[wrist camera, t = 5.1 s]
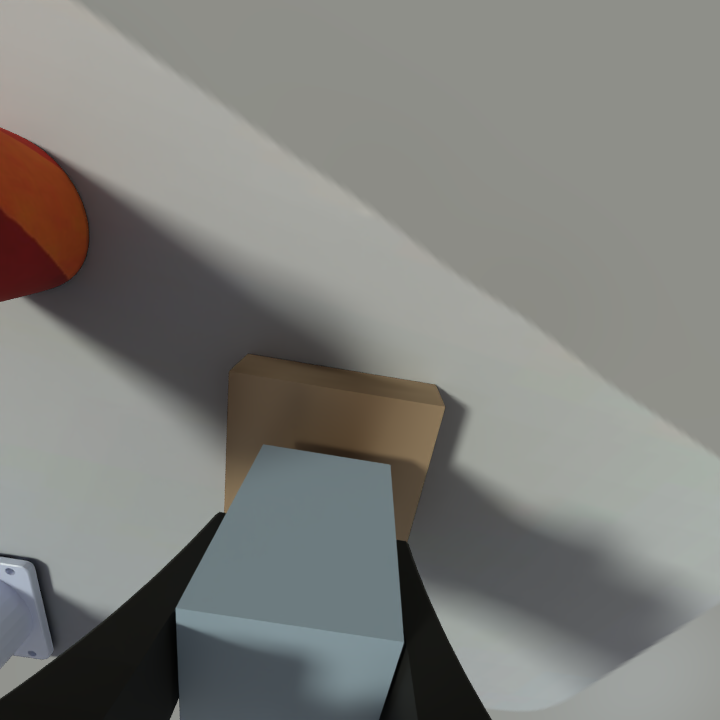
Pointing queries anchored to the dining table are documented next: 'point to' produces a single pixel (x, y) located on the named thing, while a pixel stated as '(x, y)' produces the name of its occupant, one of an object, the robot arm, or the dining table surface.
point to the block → (295, 596)
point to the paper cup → (37, 220)
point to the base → (333, 422)
